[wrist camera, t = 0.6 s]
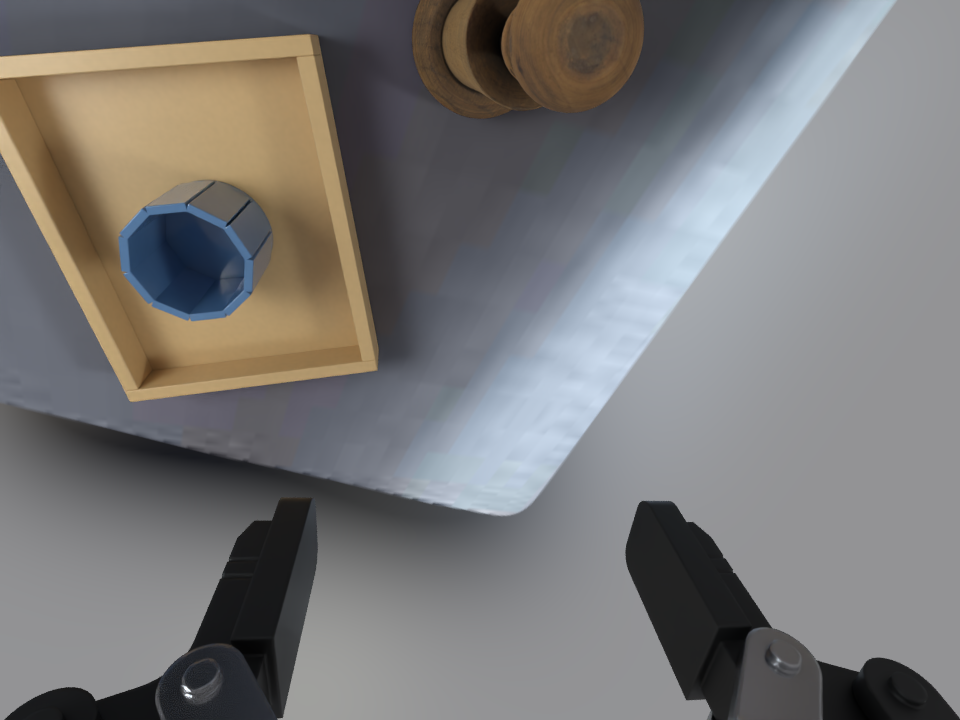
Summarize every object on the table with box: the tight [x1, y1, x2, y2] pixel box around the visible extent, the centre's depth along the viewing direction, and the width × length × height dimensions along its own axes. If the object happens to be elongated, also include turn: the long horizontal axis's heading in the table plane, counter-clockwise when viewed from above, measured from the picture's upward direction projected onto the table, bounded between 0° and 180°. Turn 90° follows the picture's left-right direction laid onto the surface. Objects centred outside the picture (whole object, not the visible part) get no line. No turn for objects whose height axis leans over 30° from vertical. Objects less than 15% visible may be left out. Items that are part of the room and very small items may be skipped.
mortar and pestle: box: [412, 0, 644, 119], centre depth 18 cm, size 7×6×18 cm
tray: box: [0, 34, 379, 402], centre depth 28 cm, size 18×15×3 cm
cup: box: [118, 180, 273, 321], centre depth 26 cm, size 6×6×5 cm
